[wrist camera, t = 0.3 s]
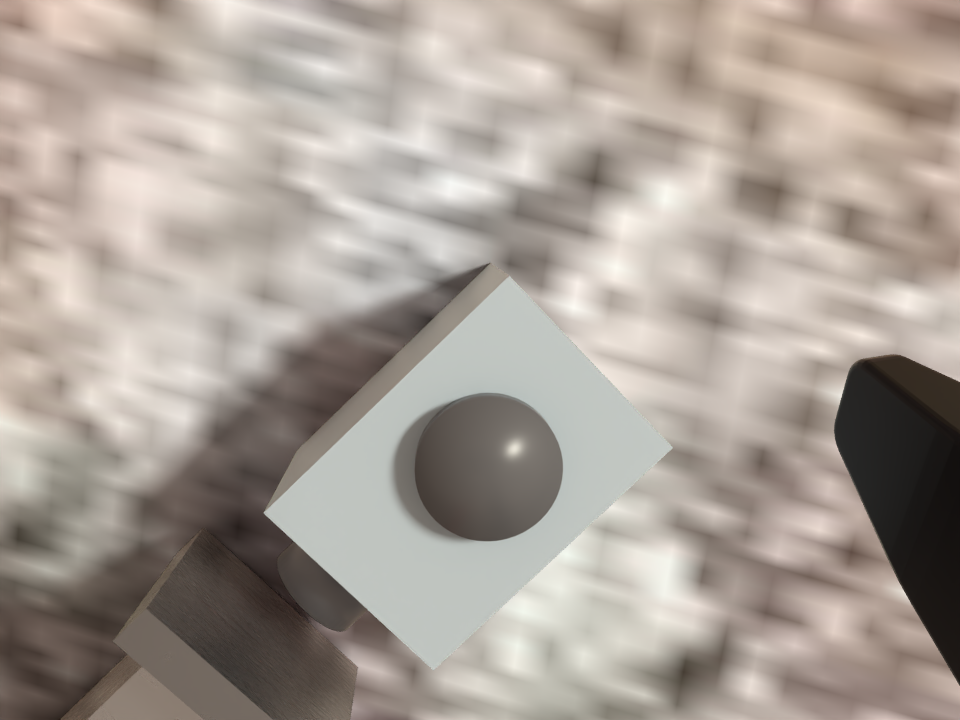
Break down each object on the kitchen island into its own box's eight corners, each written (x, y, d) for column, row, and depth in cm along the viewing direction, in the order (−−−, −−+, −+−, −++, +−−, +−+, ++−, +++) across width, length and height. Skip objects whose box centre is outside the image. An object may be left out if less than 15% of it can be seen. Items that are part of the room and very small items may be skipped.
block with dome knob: (619, 398, 23) (679, 454, 18) (391, 613, 24) (383, 730, 18) (490, 262, 22) (511, 277, 17) (257, 488, 23) (206, 571, 18)
